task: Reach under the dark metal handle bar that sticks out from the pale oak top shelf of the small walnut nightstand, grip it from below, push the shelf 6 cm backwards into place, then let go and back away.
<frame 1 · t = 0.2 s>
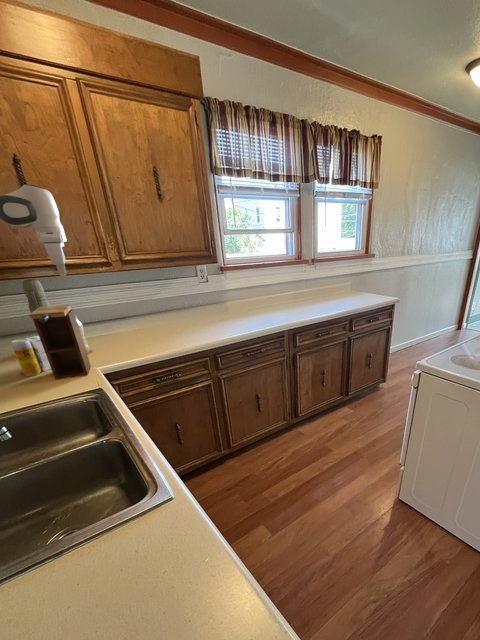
hand: (63, 275, 128), 40 cm above the worktop, tool pointing down, fingers open, 8 cm apart
nightstand: (73, 372, 144), on the worktop
syrup box: (46, 369, 148), on the worktop
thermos: (55, 349, 173), on the worktop
beer can: (33, 374, 142), on the worktop
shelf: (50, 312, 128), point 27 cm above the worktop, slide at 0.0 cm
plastic bottle: (84, 354, 166), on the worktop
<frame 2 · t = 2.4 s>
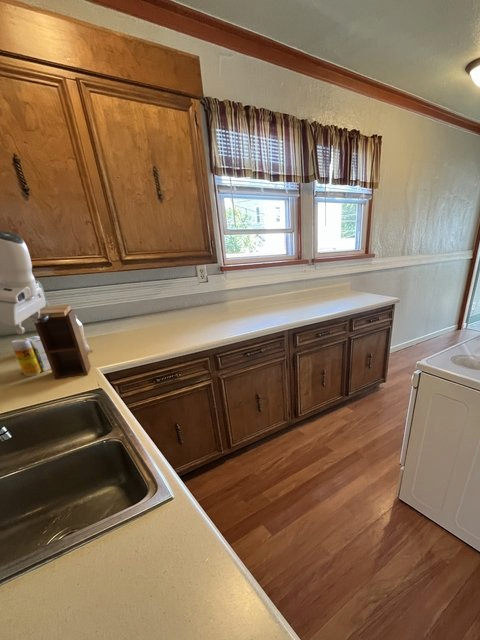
hand: (29, 327, 113), 26 cm above the worktop, tool pointing down, fingers open, 8 cm apart
shelf: (50, 312, 128), point 27 cm above the worktop, slide at 0.0 cm, touching gripper
everything else where it was.
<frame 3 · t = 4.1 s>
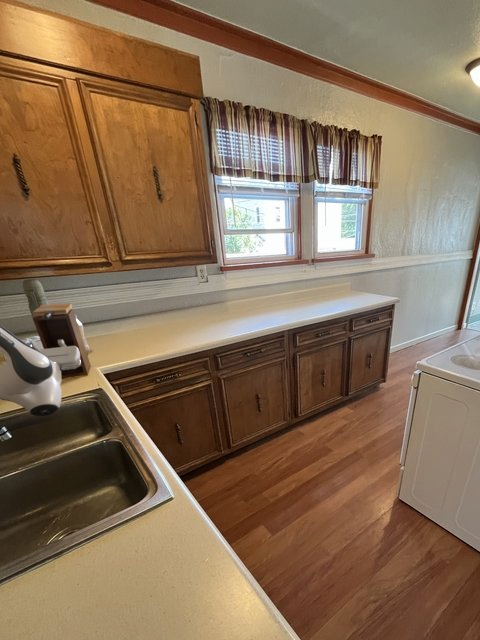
hand: (45, 342, 115), 21 cm above the worktop, tool pointing upward, fingers open, 8 cm apart
shelf: (52, 310, 132), point 27 cm above the worktop, slide at 4.5 cm
everything else where it was.
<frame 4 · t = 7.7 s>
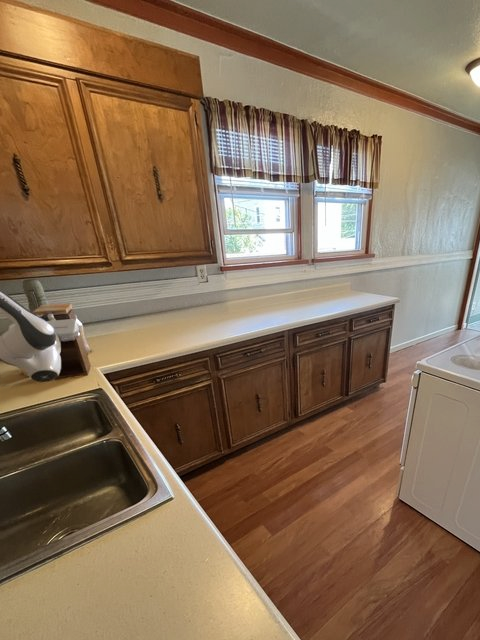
hand: (45, 315, 121), 28 cm above the worktop, tool pointing upward, fingers closed on shelf, 2 cm apart
shelf: (52, 310, 132), point 27 cm above the worktop, slide at 4.5 cm, touching gripper
everything else where it was.
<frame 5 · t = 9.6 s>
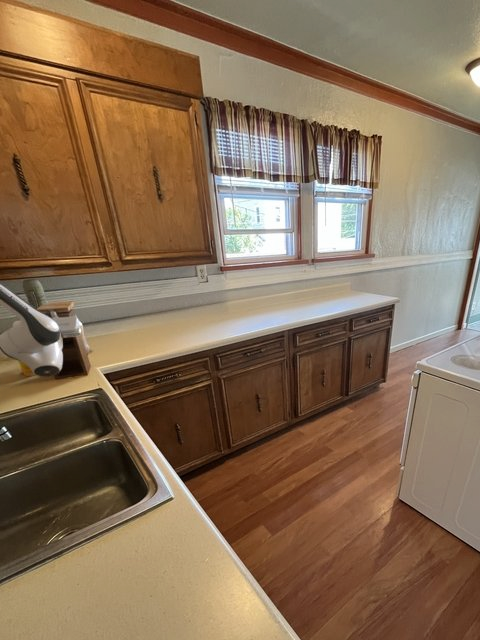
hand: (48, 313, 125), 28 cm above the worktop, tool pointing upward, fingers closed on shelf, 2 cm apart
shelf: (54, 308, 135), point 27 cm above the worktop, slide at 9.1 cm, touching gripper
everything else where it was.
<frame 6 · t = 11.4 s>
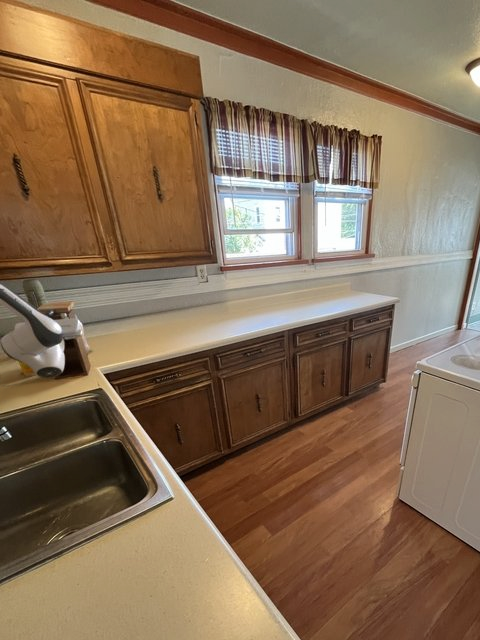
hand: (49, 315, 126), 27 cm above the worktop, tool pointing upward, fingers open, 8 cm apart
shelf: (54, 308, 135), point 27 cm above the worktop, slide at 9.0 cm
everything else where it was.
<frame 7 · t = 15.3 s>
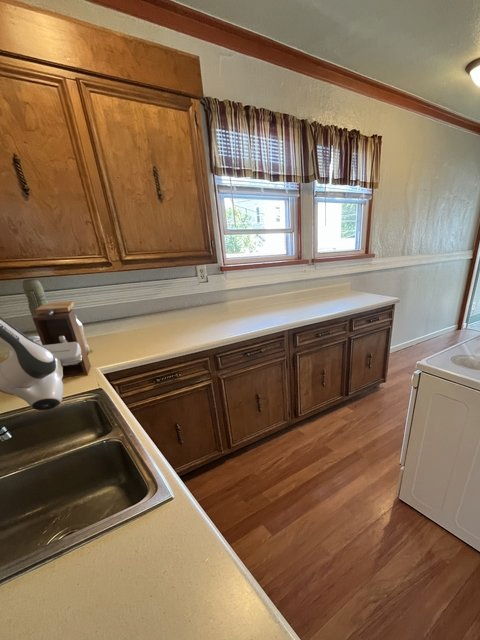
hand: (46, 338, 116), 21 cm above the worktop, tool pointing upward, fingers open, 8 cm apart
nothing on the worktop moved.
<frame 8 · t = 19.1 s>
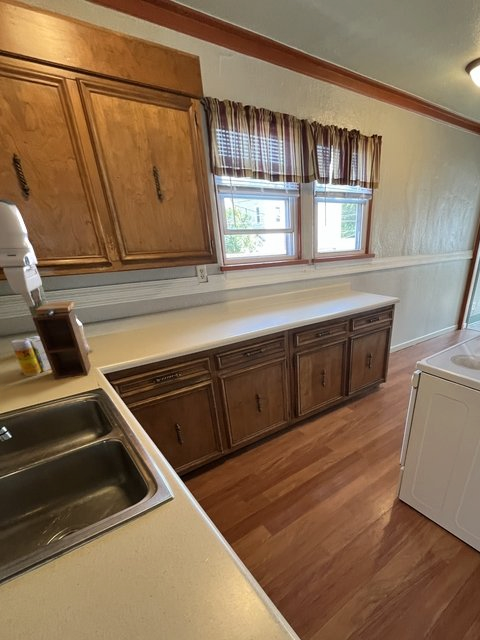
hand: (35, 303, 108), 34 cm above the worktop, tool pointing down, fingers open, 8 cm apart
nothing on the worktop moved.
at the end: shelf slide at 9.0 cm; the gripper is holding nothing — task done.
